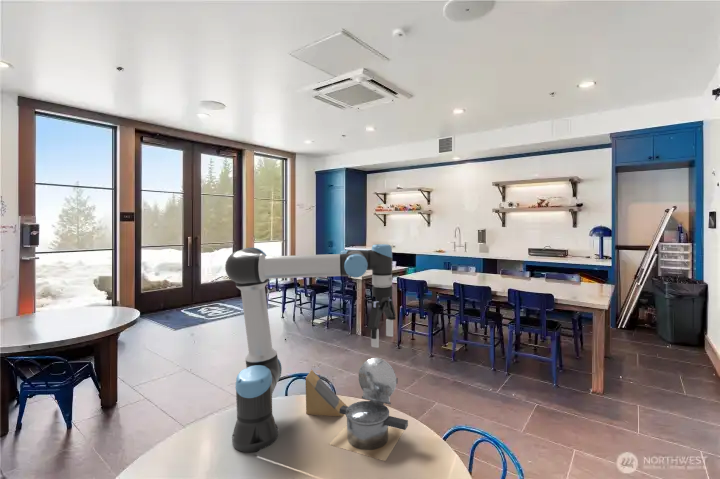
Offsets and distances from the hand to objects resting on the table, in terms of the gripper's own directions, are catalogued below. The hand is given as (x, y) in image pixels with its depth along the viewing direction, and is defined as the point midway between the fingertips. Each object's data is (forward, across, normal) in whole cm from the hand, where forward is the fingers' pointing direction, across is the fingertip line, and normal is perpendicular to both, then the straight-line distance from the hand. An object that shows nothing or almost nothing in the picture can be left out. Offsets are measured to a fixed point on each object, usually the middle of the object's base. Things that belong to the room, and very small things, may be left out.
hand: (382, 341), depth 139 cm
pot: (+28, -16, -3) cm, 32 cm away
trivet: (+29, -16, -2) cm, 33 cm away
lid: (+11, -8, -1) cm, 14 cm away
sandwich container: (+29, -7, +20) cm, 36 cm away
